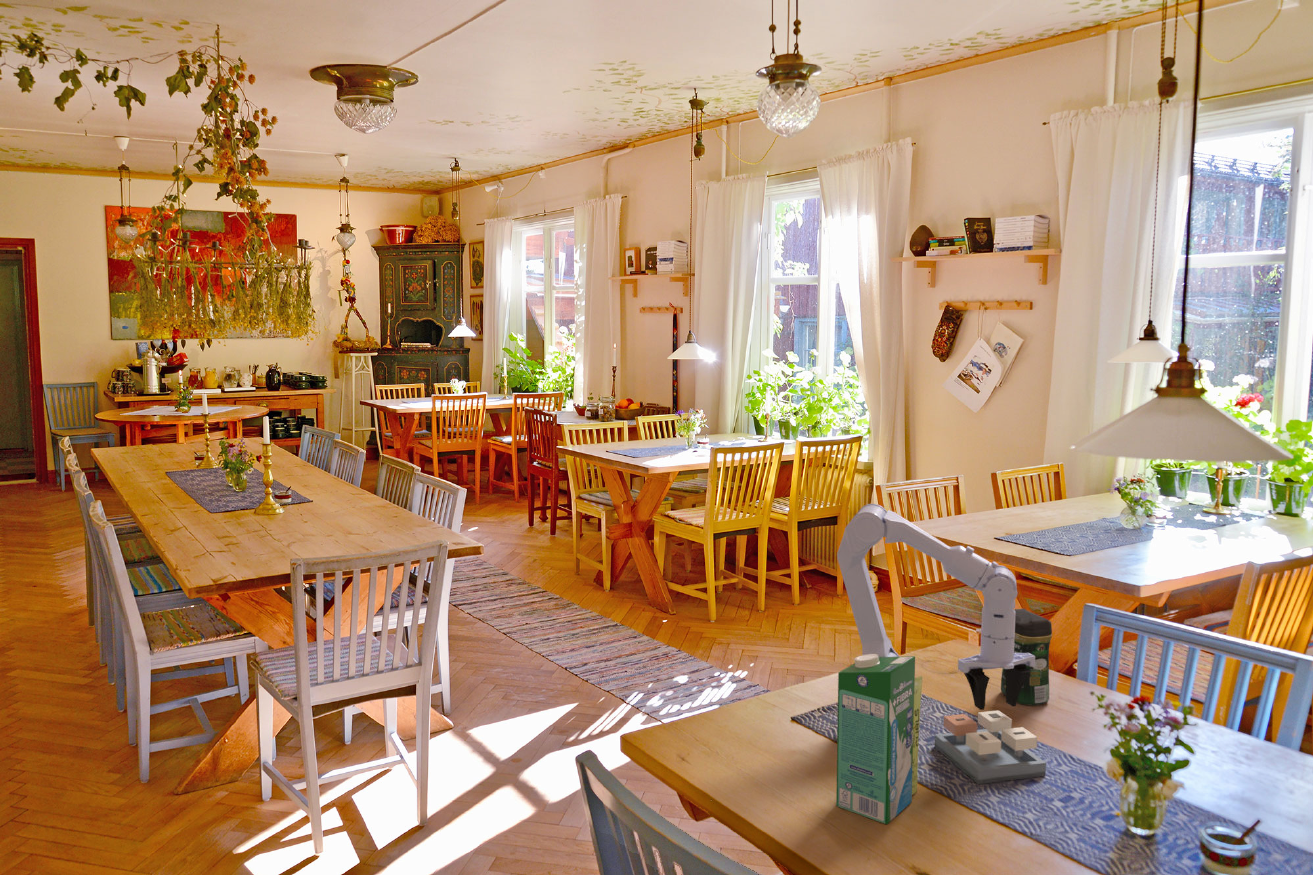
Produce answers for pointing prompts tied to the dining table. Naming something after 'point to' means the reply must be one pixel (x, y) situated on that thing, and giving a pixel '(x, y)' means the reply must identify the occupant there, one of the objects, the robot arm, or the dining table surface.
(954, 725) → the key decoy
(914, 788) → the tube
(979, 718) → the key
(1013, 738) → the key
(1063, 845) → the dining table surface
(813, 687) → the dining table surface
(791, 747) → the dining table surface
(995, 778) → the keypad base
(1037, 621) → the coffee jar
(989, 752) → the key
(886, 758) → the milk carton
